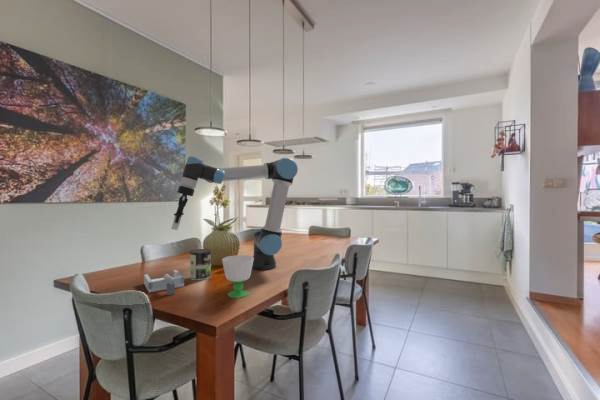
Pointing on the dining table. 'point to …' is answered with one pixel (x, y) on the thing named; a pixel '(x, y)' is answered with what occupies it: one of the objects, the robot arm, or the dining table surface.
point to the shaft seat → (164, 283)
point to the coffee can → (200, 264)
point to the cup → (237, 273)
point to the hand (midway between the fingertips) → (174, 228)
